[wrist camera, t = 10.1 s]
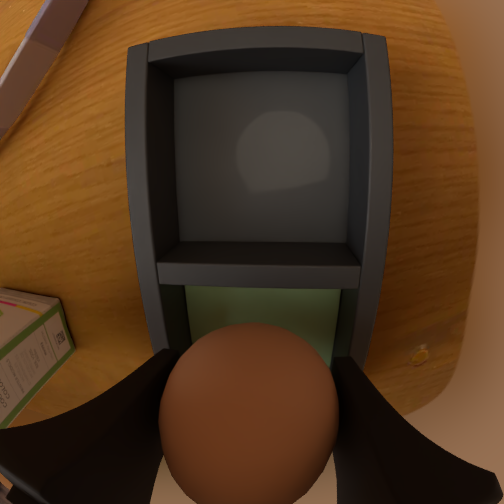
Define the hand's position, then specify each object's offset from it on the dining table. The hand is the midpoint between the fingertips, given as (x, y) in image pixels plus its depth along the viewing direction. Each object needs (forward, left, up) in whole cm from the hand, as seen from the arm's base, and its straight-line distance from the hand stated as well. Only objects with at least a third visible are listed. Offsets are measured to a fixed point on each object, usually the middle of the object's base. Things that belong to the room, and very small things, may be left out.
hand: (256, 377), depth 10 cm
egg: (0, 0, -2) cm, 2 cm away
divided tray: (0, -4, -4) cm, 5 cm away
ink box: (+15, +1, -4) cm, 16 cm away
